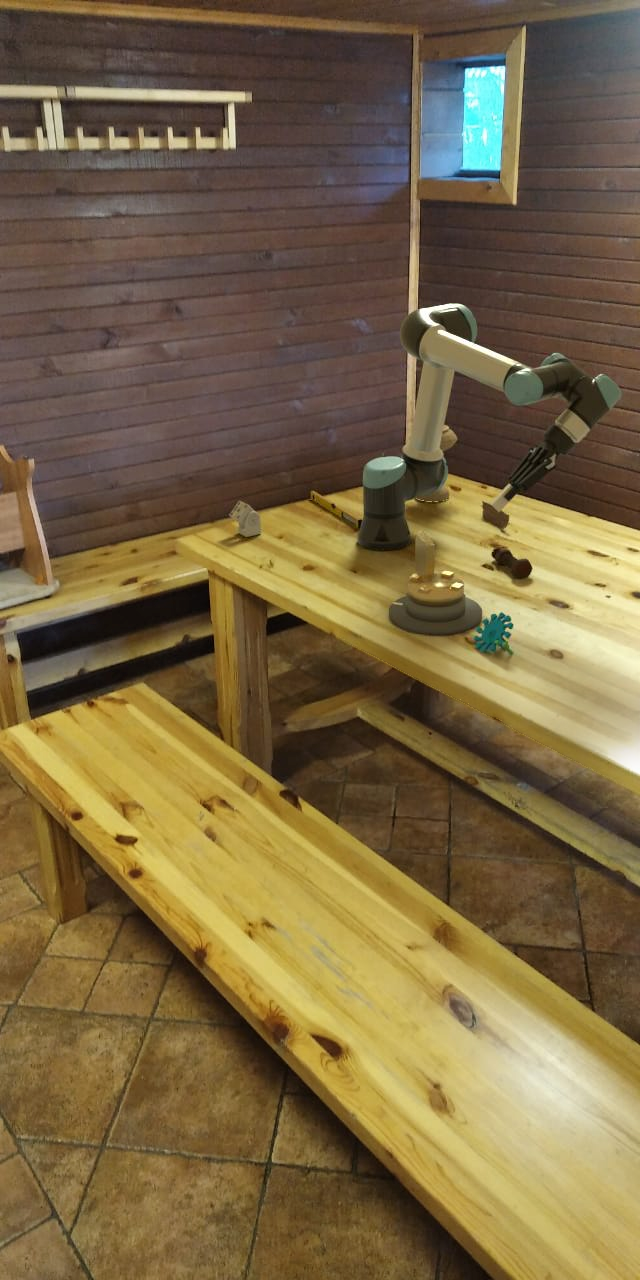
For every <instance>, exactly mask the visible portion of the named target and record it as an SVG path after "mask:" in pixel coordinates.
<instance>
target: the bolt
mask: <svg viewBox="0 0 640 1280" xmlns="http://www.w3.org/2000/svg"><path fill="white" fill-rule="evenodd" d="M490 556H491V557H492V559H494V560H495V563H496V564H497V565H498V566H499V567H500V566H504V567H506V568H508V569H509V570H510V572H511V574H512V576H513V578H514V579H516V580H525V578H526V579H528V578H529V577H530V576H531V574H532V571H533V566H532V563H531V562H530V560H529V559H527V558H520V559H518V558H516V557H515V556H514V555H513V553H512V552H511V550H510V549H509V548H500V547H498V548H497V547H496V548H493V549H492V551H491V555H490Z"/></svg>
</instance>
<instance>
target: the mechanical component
mask: <svg viewBox="0 0 640 1280" xmlns="http://www.w3.org/2000/svg"><path fill="white" fill-rule="evenodd" d="M228 516H229V517H231V518H232V519H233V520H234V521H236V522H237V523H238V527H237V534H240V535H241V536H243V537H244V538H249V537H253V536H256V535H261V534H262V523H261V522H262V521H261V516H260V513H258V512H257V511H255V509H253V508H252V507H251V505H249V504H248V503H247V502H246V503H245V502H244V501H241V500H238V501H237V502H236V504H235V506H234V507H233V509H232V510H231V512H230V513H229V514H228Z"/></svg>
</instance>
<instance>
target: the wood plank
mask: <svg viewBox="0 0 640 1280" xmlns="http://www.w3.org/2000/svg"><path fill="white" fill-rule="evenodd" d="M481 503H482V507H481V508H482V518H485V519H487V520H488V521H490V522H492V523H494V524H495V525H496V527H498V529H499V530H500V532H502V533H504V529H506V528H507V526H508V524H509V521H510V515H509V514H507V513H505V511H503V510H501V511H500V512H498V511H497V510H496V509H495V508H494V507H493V506H492V505H491V504H490V503H489V502H485V501H484V500H481Z"/></svg>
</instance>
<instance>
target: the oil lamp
mask: <svg viewBox="0 0 640 1280" xmlns="http://www.w3.org/2000/svg"><path fill="white" fill-rule="evenodd" d="M408 439H409V441H410V437H408ZM457 440H458V437H457V435H456V433H455V432H454V431H453V430H452V429H450V427H449V426H448V425H446V424H444V427H443V432H442V437H441V442H440V447H439V448H440V449H441V450H442V452H445V451H447V450H449V449H451V448H452V447H453V446H455V444H456V442H457ZM448 498H449V499H450V492H449V489H448V487H447V486H446V485H445V484H444V485H443V486H442V488H440V489H439V490H438V491H435V492H434V493H432V494H430V495H426V496H421V497H418V498H417V499H420V500H424V501H432V502H434V501H443V500H446V499H448ZM449 499H448V500H449ZM446 501H447V500H446ZM443 502H444V501H443Z"/></svg>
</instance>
